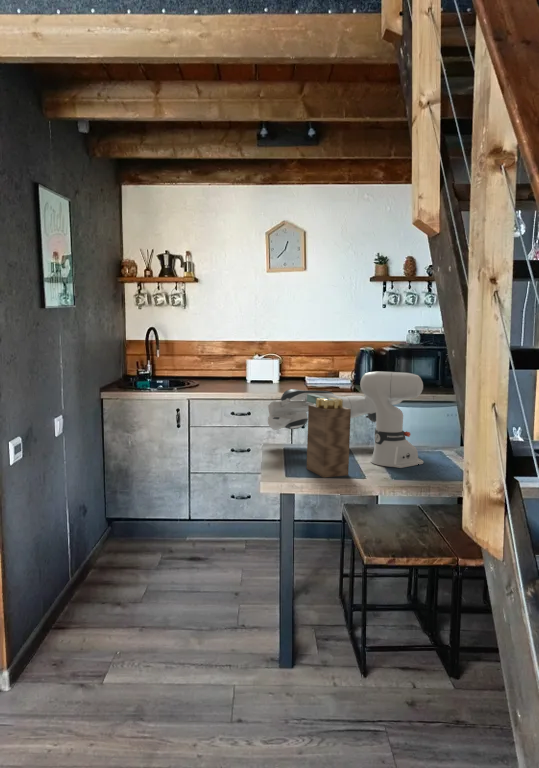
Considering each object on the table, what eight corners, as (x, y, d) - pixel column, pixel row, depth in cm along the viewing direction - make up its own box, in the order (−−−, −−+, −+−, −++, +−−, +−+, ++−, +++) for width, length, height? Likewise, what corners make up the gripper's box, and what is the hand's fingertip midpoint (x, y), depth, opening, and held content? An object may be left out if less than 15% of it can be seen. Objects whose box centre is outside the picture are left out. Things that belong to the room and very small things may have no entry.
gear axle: (321, 400, 238) (321, 393, 238) (347, 408, 219) (347, 400, 219) (299, 401, 234) (299, 394, 234) (324, 409, 215) (324, 401, 215)
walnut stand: (330, 466, 233) (332, 403, 230) (348, 475, 220) (350, 409, 218) (306, 468, 229) (308, 404, 226) (323, 477, 216) (325, 410, 213)
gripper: (308, 416, 260) (321, 405, 249) (267, 418, 252) (278, 407, 240) (305, 404, 263) (318, 392, 251) (264, 405, 254) (276, 393, 243)
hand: (298, 399), depth 246 cm, fingers open, 8 cm apart
